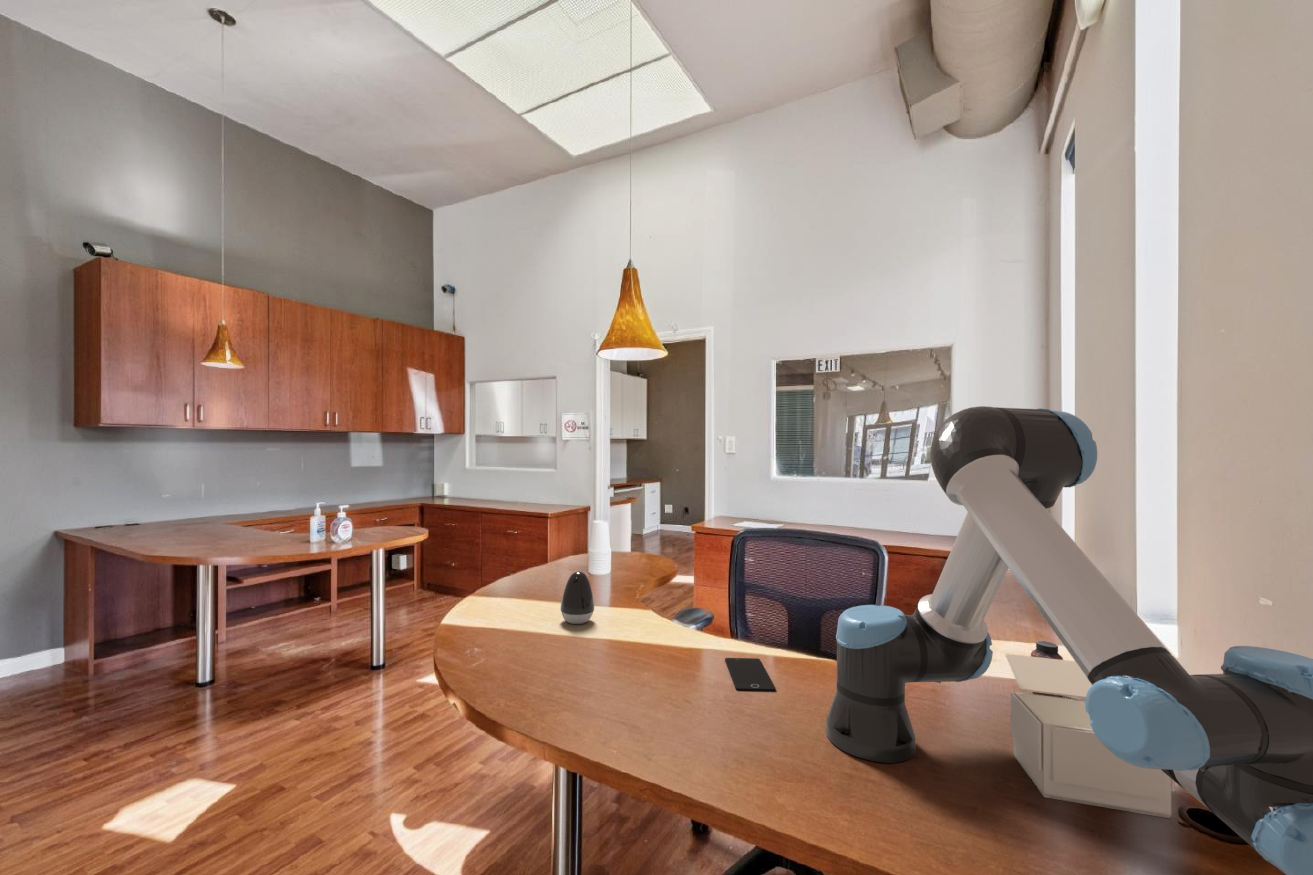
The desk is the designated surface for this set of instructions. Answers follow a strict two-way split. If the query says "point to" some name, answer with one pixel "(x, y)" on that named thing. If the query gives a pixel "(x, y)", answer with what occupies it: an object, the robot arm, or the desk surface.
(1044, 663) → the far flap
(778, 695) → the desk surface
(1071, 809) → the desk surface
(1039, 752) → the carton
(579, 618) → the black egg shaped device
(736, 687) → the cell phone
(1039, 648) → the supplement bottle
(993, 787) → the desk surface
